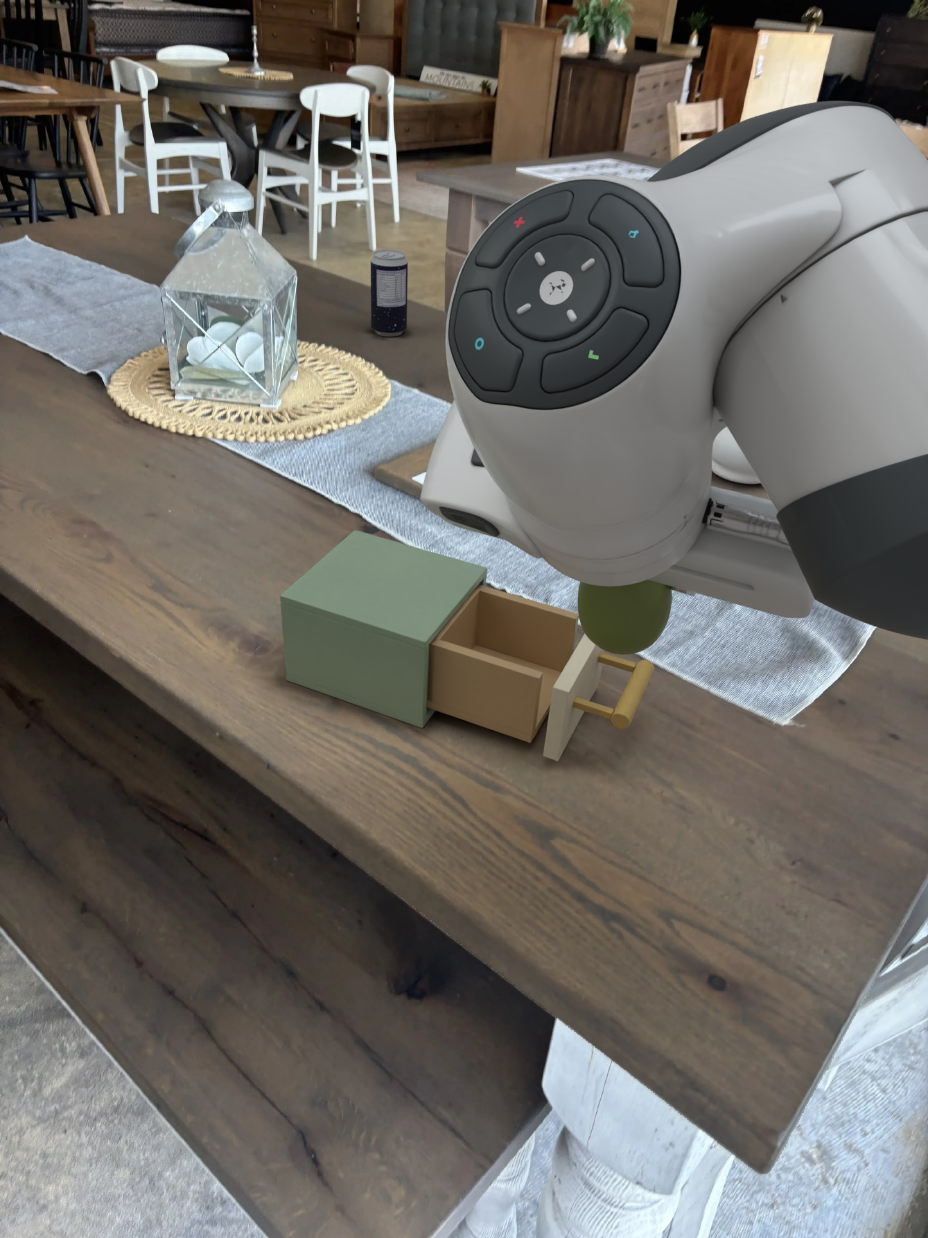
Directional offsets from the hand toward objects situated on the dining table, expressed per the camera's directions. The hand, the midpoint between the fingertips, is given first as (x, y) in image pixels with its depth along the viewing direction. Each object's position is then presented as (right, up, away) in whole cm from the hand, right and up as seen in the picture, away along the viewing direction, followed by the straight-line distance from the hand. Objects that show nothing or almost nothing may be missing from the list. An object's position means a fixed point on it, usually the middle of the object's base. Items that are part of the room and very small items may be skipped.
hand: (632, 565), depth 54 cm
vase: (+23, +14, +56) cm, 63 cm away
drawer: (-4, -10, +18) cm, 21 cm away
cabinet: (-17, -7, +22) cm, 29 cm away
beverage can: (-22, +43, +91) cm, 103 cm away
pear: (0, -5, +3) cm, 6 cm away
